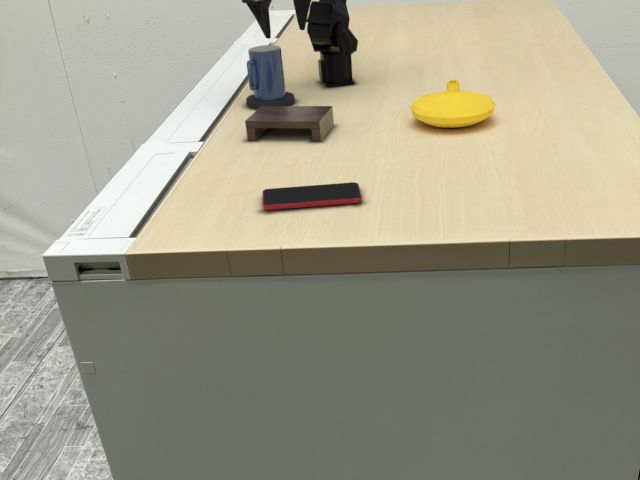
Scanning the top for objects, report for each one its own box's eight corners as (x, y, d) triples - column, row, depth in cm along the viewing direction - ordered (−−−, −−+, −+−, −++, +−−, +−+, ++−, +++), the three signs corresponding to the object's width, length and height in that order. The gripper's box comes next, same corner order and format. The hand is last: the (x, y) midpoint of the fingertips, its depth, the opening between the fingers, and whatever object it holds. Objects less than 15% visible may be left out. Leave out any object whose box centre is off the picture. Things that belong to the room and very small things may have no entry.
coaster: (289, 94, 176) (288, 88, 175) (299, 106, 169) (298, 99, 168) (243, 100, 174) (242, 94, 174) (251, 112, 167) (250, 106, 166)
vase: (435, 140, 147) (435, 97, 142) (396, 119, 158) (395, 79, 153) (511, 125, 151) (513, 84, 147) (467, 106, 163) (468, 67, 158)
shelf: (263, 125, 159) (261, 105, 157) (333, 125, 157) (332, 106, 155) (247, 140, 152) (244, 120, 150) (321, 141, 149) (319, 121, 147)
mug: (271, 91, 174) (266, 43, 169) (292, 95, 171) (287, 47, 165) (241, 100, 170) (234, 51, 164) (262, 105, 166) (256, 55, 160)
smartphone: (362, 198, 124) (262, 205, 123) (362, 204, 124) (263, 211, 123) (358, 181, 129) (262, 189, 128) (358, 187, 130) (263, 194, 129)
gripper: (266, -51, 147) (277, 47, 157) (340, -63, 157) (346, 29, 167) (227, -54, 153) (240, 41, 163) (301, -65, 163) (308, 24, 173)
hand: (285, 34), depth 166 cm, fingers open, 9 cm apart
